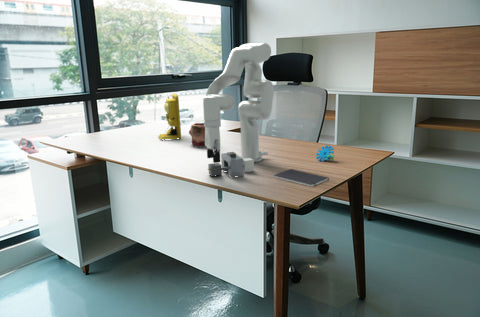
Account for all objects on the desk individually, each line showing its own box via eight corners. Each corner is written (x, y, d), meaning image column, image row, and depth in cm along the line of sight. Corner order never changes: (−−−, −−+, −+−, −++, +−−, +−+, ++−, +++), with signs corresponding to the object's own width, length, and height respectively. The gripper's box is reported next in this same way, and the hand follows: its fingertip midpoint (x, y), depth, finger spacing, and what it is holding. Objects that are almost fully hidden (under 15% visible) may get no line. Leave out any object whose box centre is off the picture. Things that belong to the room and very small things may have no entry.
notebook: (328, 180, 172) (290, 172, 187) (328, 177, 172) (290, 168, 187) (311, 188, 164) (273, 178, 179) (311, 184, 163) (273, 175, 178)
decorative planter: (220, 145, 245) (219, 123, 242) (206, 149, 237) (205, 126, 233) (198, 142, 258) (197, 121, 255) (184, 145, 249) (182, 124, 246)
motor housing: (233, 168, 194) (232, 149, 191) (243, 176, 181) (242, 155, 178) (221, 170, 192) (220, 150, 189) (231, 178, 179) (230, 157, 176)
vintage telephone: (157, 134, 289) (153, 93, 281) (175, 133, 293) (172, 92, 285) (161, 142, 260) (157, 97, 252) (182, 140, 264) (179, 96, 256)
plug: (250, 168, 192) (250, 157, 190) (254, 171, 188) (253, 159, 186) (207, 174, 184) (206, 163, 183) (209, 177, 180) (209, 165, 179)
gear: (311, 156, 206) (323, 141, 207) (317, 162, 210) (328, 148, 210) (325, 163, 197) (337, 148, 198) (330, 169, 201) (343, 155, 201)
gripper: (199, 121, 184) (201, 157, 188) (209, 126, 168) (211, 165, 172) (214, 120, 186) (215, 155, 190) (226, 125, 170) (227, 163, 174)
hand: (213, 160), depth 181 cm, fingers open, 9 cm apart
